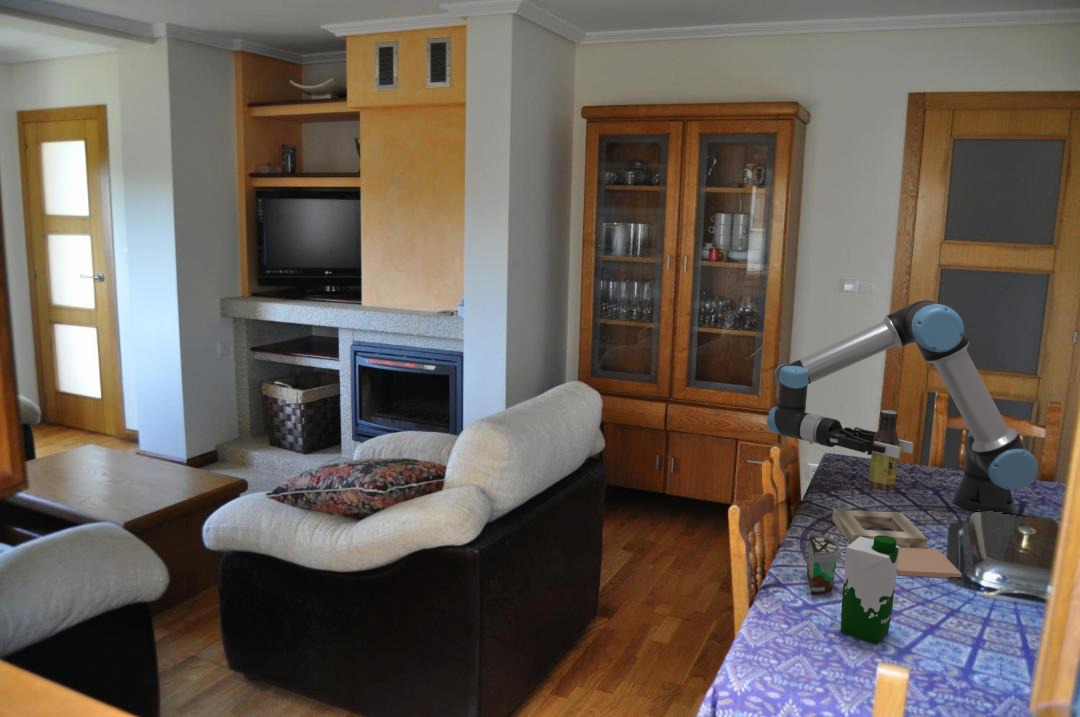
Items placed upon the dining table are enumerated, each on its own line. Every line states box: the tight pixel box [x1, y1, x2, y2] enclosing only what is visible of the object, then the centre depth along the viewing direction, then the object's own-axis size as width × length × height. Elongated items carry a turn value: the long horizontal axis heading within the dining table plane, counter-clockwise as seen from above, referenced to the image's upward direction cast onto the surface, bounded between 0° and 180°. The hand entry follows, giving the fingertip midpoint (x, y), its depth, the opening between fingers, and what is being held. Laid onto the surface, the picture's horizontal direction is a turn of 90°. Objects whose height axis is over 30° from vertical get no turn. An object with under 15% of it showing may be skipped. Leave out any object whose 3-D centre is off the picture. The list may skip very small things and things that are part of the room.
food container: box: [806, 532, 842, 595], centre depth 188 cm, size 12×6×10 cm, turn 168°
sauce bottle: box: [868, 409, 900, 491], centre depth 215 cm, size 6×6×20 cm
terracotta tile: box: [896, 547, 963, 579], centre depth 201 cm, size 14×14×1 cm
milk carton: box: [840, 535, 900, 645], centre depth 167 cm, size 9×9×20 cm
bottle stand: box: [831, 509, 928, 549], centre depth 219 cm, size 18×18×3 cm
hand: (905, 450), depth 211 cm, fingers closed on sauce bottle, 6 cm apart
